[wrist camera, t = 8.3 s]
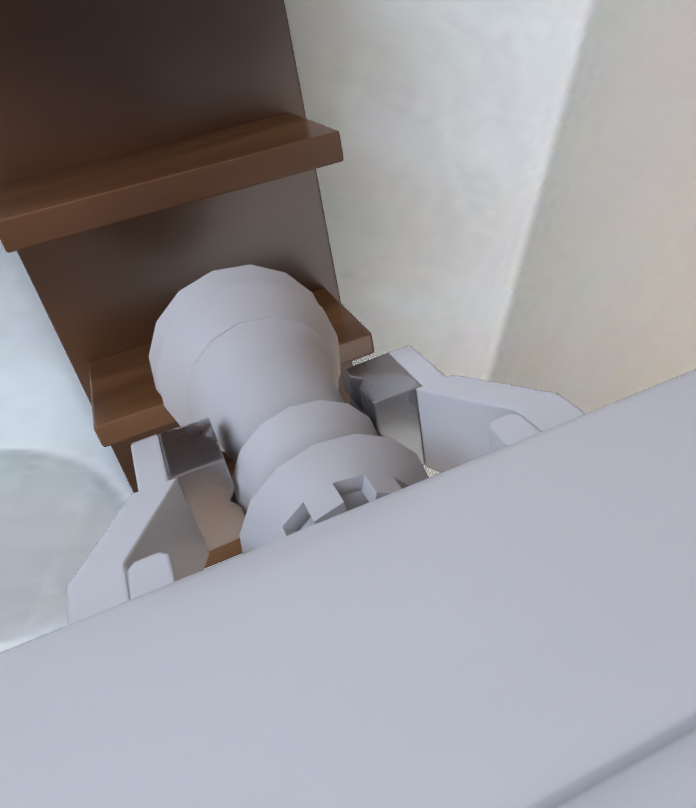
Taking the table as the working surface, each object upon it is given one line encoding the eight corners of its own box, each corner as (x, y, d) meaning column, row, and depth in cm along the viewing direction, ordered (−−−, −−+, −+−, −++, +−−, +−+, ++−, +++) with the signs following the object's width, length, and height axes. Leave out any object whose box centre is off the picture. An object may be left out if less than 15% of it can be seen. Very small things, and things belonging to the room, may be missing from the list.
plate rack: (-136, -83, 16) (-214, -126, 11) (245, -143, 18) (308, -198, 13) (141, 498, 27) (158, 594, 22) (355, 419, 29) (410, 492, 25)
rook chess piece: (353, 300, 16) (542, 474, 10) (276, 441, 18) (401, 676, 11) (193, 226, 14) (308, 391, 8) (116, 395, 15) (160, 659, 9)
